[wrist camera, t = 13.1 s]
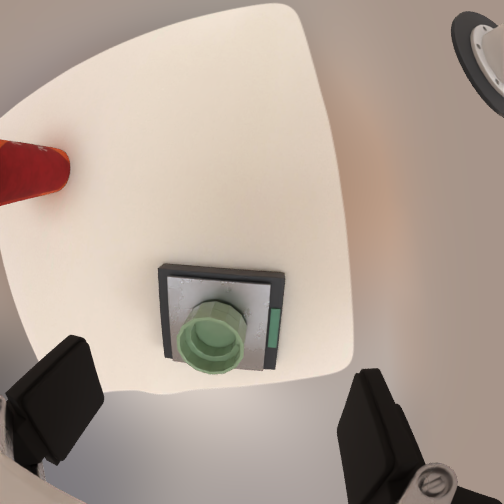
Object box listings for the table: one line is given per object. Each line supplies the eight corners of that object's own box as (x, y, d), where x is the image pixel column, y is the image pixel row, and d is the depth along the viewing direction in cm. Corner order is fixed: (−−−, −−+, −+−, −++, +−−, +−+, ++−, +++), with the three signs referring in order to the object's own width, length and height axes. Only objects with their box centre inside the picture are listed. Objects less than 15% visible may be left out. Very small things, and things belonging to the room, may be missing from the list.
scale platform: (270, 283, 30) (270, 285, 29) (263, 368, 33) (263, 371, 32) (168, 275, 30) (167, 276, 30) (174, 358, 33) (172, 360, 32)
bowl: (248, 302, 30) (245, 320, 26) (245, 355, 32) (242, 377, 28) (186, 296, 30) (174, 313, 26) (188, 349, 32) (179, 370, 28)
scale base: (284, 272, 32) (285, 279, 30) (274, 360, 35) (275, 371, 33) (163, 263, 33) (156, 269, 31) (169, 349, 36) (163, 358, 33)
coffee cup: (65, 128, 29) (-18, 117, 15) (84, 179, 31) (-5, 187, 16) (30, 163, 31) (-48, 167, 16) (47, 211, 32) (-34, 231, 18)
